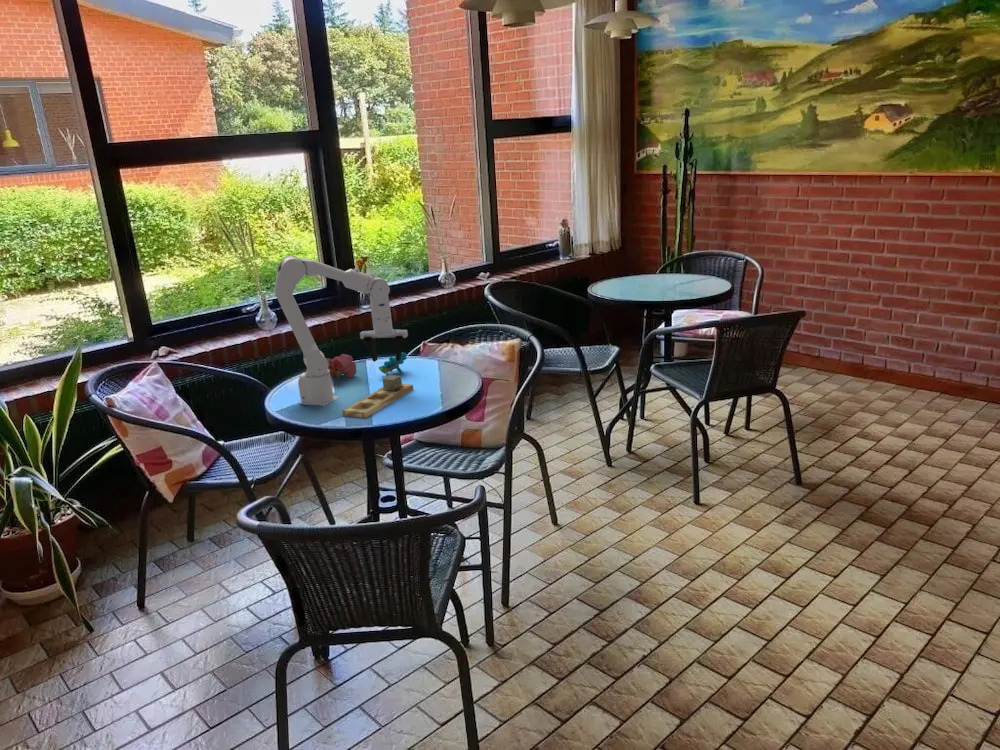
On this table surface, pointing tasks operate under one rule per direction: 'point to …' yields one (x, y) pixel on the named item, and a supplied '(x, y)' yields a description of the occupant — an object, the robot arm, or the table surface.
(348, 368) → the flower
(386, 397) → the hole board
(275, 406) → the table surface
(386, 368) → the teal toy dinosaur
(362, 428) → the table surface
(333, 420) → the table surface
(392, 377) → the block
